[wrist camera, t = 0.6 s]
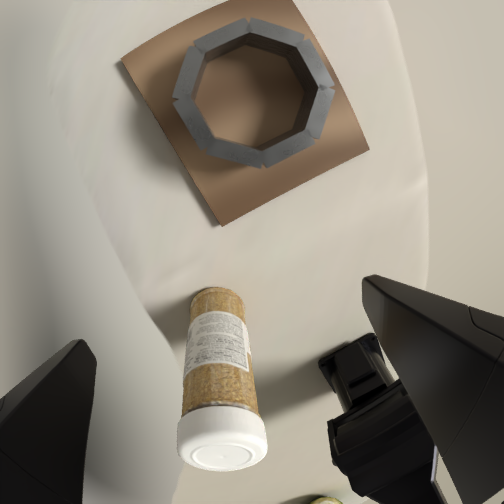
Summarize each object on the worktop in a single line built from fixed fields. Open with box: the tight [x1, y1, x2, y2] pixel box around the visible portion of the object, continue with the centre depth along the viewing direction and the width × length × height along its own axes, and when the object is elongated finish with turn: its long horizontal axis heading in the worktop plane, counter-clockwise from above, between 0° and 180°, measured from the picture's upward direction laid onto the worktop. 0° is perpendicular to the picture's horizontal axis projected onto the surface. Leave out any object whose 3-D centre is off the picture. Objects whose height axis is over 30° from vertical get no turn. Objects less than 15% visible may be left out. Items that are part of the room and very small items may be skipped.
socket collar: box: [172, 17, 335, 169], centre depth 16 cm, size 9×9×3 cm
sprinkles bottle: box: [177, 287, 268, 471], centre depth 18 cm, size 5×5×14 cm
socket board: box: [121, 0, 370, 227], centre depth 17 cm, size 14×12×1 cm
